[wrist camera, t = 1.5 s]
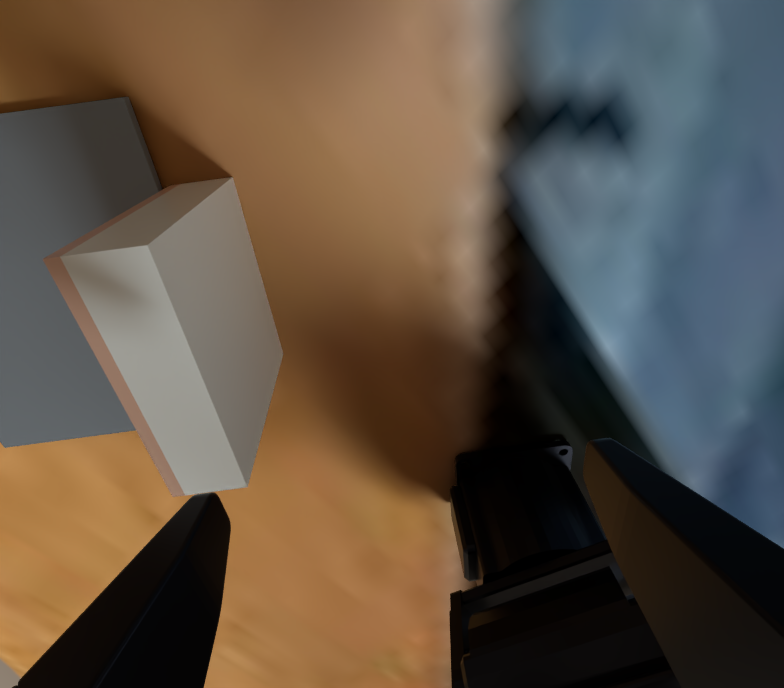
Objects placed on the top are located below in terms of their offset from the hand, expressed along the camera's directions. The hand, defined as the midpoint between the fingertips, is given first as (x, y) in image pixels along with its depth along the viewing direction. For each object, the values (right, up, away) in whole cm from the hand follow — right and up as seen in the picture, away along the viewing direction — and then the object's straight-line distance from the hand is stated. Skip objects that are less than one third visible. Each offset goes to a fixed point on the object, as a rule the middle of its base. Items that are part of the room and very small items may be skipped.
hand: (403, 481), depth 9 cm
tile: (-7, +5, +10) cm, 14 cm away
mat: (-14, +4, +10) cm, 18 cm away
